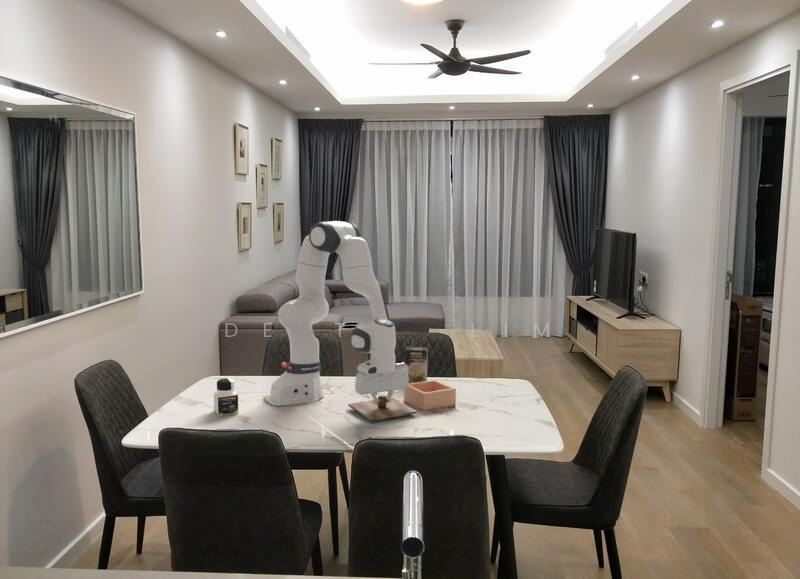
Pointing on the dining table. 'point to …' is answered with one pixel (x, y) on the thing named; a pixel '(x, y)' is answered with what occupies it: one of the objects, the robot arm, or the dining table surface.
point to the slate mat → (383, 421)
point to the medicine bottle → (225, 397)
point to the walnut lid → (382, 409)
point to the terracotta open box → (430, 395)
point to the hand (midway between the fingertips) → (382, 403)
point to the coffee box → (417, 364)
